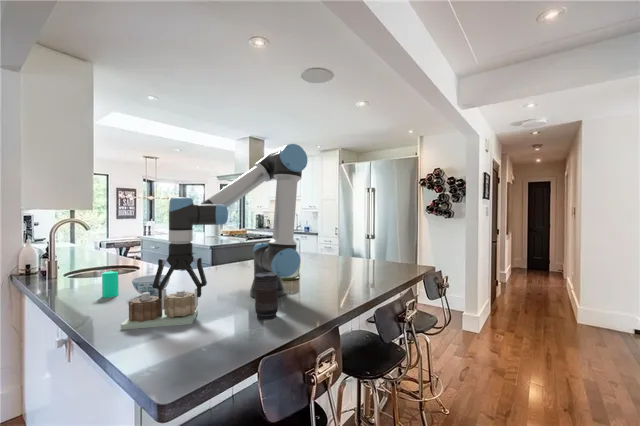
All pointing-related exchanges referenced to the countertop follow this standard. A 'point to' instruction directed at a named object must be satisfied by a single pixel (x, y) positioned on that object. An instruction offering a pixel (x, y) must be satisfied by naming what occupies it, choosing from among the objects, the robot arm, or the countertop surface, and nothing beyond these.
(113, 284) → the candle
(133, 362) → the countertop surface
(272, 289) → the camera lens
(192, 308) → the maple gear
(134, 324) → the gear board
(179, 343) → the countertop surface
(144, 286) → the chinaware
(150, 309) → the walnut gear
